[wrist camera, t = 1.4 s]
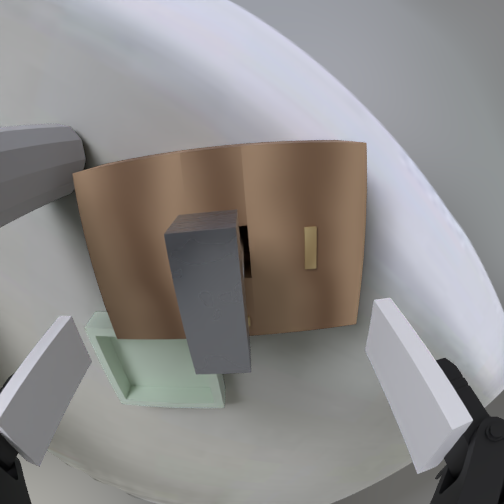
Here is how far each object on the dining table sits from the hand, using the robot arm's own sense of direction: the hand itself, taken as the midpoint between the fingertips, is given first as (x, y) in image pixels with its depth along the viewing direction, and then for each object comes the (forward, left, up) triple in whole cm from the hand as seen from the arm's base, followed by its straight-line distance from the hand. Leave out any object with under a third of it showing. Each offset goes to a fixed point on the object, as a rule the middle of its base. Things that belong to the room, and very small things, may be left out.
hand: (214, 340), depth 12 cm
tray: (-9, -14, -15) cm, 23 cm away
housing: (0, 0, -15) cm, 15 cm away
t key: (0, 0, -14) cm, 14 cm away
